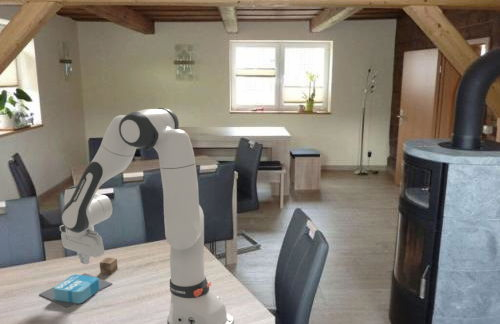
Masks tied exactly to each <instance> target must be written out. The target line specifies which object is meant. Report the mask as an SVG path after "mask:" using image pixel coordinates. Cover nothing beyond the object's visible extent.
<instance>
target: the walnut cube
mask: <svg viewBox="0 0 500 324" xmlns="http://www.w3.org/2000/svg"><path fill="white" fill-rule="evenodd" d="M118 267H119V266H118V258H116V257H115V258H114V257H104V258H103V260H101V261H100V262H99V269H100V273H99V274H101V275H102V274H104V275H113V274H114V273H115V272H116V271H118V270H119V268H118Z"/></svg>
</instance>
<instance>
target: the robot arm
mask: <svg viewBox="0 0 500 324" xmlns="http://www.w3.org/2000/svg"><path fill="white" fill-rule="evenodd" d="M179 122H180V121H179V118H178V116H177V115H176V113H174V111H172V110H171V109H168V108H165V107H164V108H163V107H157V108H146V109H145V108H144V109H141V110H137V111H133V112H130V113H128V114H126V115H125V114H119V115H117V116H115V117H114V118H113V119H112V120H111V122H110V123H109V125H108V127H107V128H106V131H105V133H104V135H103V137H102V139H101V143H100V146H99V148H98V149H97V152H96V153H95V155H94V157H93V159H92V160H91V162H89V164H88V166H87V167H86V168H85V169H84V171H83V174H82V175H81V177H80V180H79V181H78V183H77V185H75V184H74V185H71V186H69V187H67V188H66V189H65V190H64V196H63V201H64V207H63V209H62V210H61V218H60V219H61V222H62V225H61V224H60V225H59V231H60V232H61V233H60V237H61V244H62V246H63V247H64V248H65V249H67V250H70V251H73V252H76V255H77V257H78V258H79V260H80V263H81V264H83V265H88V264H90V257H92V258H99V257H102V256H103V255H105V248H104V243H103V238H102V236H101V235H100V234H99V233H98V231H95V225H97V224H100V223H101V222H104V221H106V220H108V219H110V218H111V217H112V215H113V213H114V204H113V201H112V199H111V198H110V197H109V196H107V194H104V193H98V192H97V191H98V190H99V188H100V187H101V186H102V185H103V184H104V183H106V182H107V181H109V180H110V179H112V178H113V177H115V176H118V175H120V174H121V173H123V172H124V171H126V170H127V169H128V167H130V165H131V163H132V162H133V158H134V157H135V153H136V151H137V148H138V149H139V148H140V149H143V150H146V151H150V150H152V149H154V150H155V151H156V153H157V155H158V161H159V168H160V176H161V185H162V193H163V195H162V196H163V217H164V218H163V219H164V235H165V239H166V242H167V243H168V245H169V246H170V253H169V269H170V279H169V291H170V294H171V295H170V296H171V297H170V307H169V314H168V317H167V321H168V324H234V321H235V319H234V316H232V315H231V314H229V313H227V308H226V306H225V303H224V302H223V301H222V300H221V298H220V297H219V296H217V295H216V294H215V293H214V292H213V291H212V290H211V289H210V287H211V286H212V281H210V282H208V280H207V278H206V277H207V276H206V275H205V256H204V253H205V215H204V211H203V208H202V207H201V205H200V197H199V196H200V195H199V181H198V175H197V174H198V173H197V166H196V158H195V152H194V147H193V144H192V141H191V138H190V135H189V134H188V132H186V131H185V130H183V129H179V126H180V125H179V124H180V123H179Z"/></svg>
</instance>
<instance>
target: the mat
mask: <svg viewBox="0 0 500 324" xmlns="http://www.w3.org/2000/svg"><path fill="white" fill-rule="evenodd" d="M81 275H83V276H91V277H95V276H93V275H91V274H89V273H86V272H85V273H82V274H81ZM97 278H98V279H99V290H98V291H97V292H95V293H94V294H96V293H98V292H100V291H102V290H105V289H106V288H108V287H110V286H112V285H113V283H112V282H110V281H107V280H104V279H102V278H100V277H97ZM54 287H55V286H54ZM54 287H52V288H49V289H47V290H44V291H42V292H41V293H39V294H38V295H39V296H41V297H43V298H45V299H48V300H50V301H52V302H54V303H56V304H58V305H60V306H63V307H65V308H69V307H71V306H72V305H74V304H76V303H72V302H65V301H59V300H55V295H54Z"/></svg>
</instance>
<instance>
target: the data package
mask: <svg viewBox="0 0 500 324" xmlns="http://www.w3.org/2000/svg"><path fill="white" fill-rule="evenodd" d="M91 276H92V275H91ZM91 276H83V275H82V274H73V275H70V276H69V277H67V278H66V279H64V280H63V281H62V282H60V283H58V284H57V285H56V286H54V295H55V300H59V301H65V302H72V303H75V304H82V303H84V302H85V301H87V300H88V299H89V298H91V296H93V295H94V294H96V293H98V292H99V291H98V290H99V279H100V278H99V277H96V276H94V277H91ZM98 278H99V279H98ZM97 291H98V292H97ZM95 292H96V293H95Z"/></svg>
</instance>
